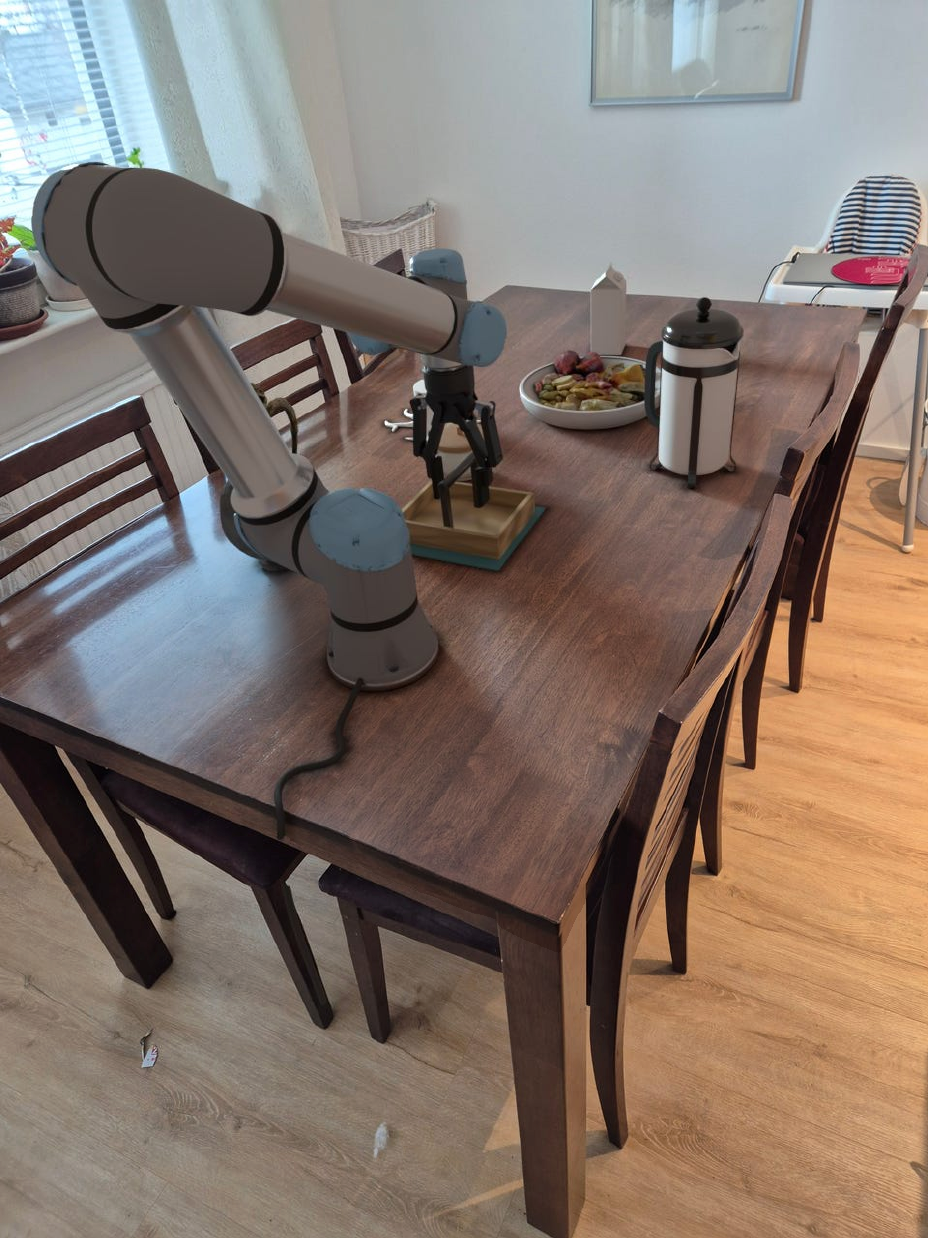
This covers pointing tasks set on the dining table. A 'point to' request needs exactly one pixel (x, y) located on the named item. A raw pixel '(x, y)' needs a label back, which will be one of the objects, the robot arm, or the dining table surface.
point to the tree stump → (417, 388)
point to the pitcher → (225, 498)
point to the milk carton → (608, 313)
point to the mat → (472, 559)
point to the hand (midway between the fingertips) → (461, 498)
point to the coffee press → (695, 390)
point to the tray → (467, 515)
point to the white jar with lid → (454, 449)
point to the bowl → (588, 391)
